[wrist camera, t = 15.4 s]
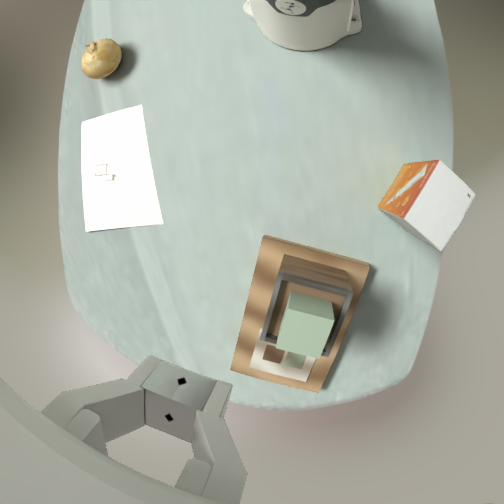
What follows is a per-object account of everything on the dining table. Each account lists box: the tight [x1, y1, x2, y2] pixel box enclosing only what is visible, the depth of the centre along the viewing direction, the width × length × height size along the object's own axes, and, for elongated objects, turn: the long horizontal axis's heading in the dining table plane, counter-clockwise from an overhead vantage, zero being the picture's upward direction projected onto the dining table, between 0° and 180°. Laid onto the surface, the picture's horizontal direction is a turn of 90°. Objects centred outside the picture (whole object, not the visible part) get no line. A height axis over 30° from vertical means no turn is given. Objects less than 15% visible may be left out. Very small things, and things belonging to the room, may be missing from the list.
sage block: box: [276, 291, 335, 359], centre depth 32 cm, size 5×5×5 cm
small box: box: [377, 160, 476, 251], centre depth 32 cm, size 8×6×13 cm
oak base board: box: [230, 235, 370, 393], centre depth 40 cm, size 24×16×11 cm, turn 167°
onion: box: [81, 39, 121, 79], centre depth 37 cm, size 8×8×7 cm
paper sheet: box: [81, 105, 163, 232], centre depth 44 cm, size 24×29×1 cm
